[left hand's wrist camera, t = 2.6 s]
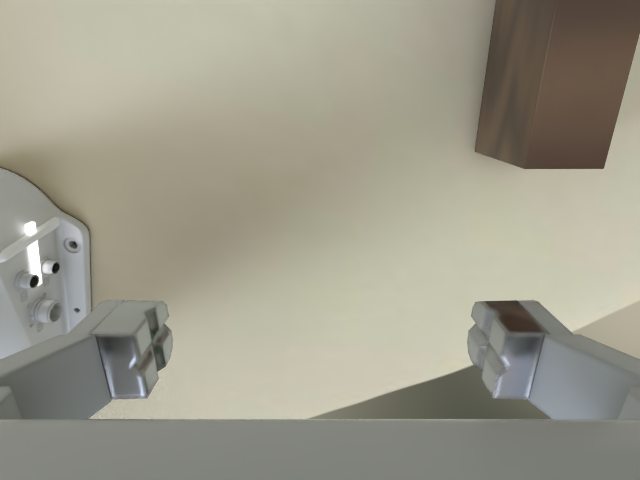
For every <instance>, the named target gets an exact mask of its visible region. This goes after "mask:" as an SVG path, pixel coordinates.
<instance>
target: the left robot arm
mask: <svg viewBox="0 0 640 480" xmlns="http://www.w3.org/2000/svg"><path fill="white" fill-rule="evenodd" d="M73 241H75V242H76V243H77V246H76V245H75V244H74V243H73ZM168 317H169V314H168V309H167V305H166V304H165V303H164V302H163V301H125V300H109V301H102V302H101V303H100V304H99V305H98V306H97V307H96V308H95V309H94V310H92V311H91V278H90V237H89V231H88V229H87V227H86V226H85V225H84V224H83V223H81V222H80V221H79V220H77V219H75V218H74V217H72V216H70V215H68V214H66V213H64V212H62V211H61V210H60V209H58V208H57V207H56V206H55V205H54V204H53V203H52V202H51V201H50V200H49V199H48V198H47V197H46V195H45V194H44V193H42V192H41V191H40V190H39V189H38V188H37V187H36V186H34V185H33V184H32V183H30V182H29V181H27V180H26V179H24V178H22V177H21V176H19V175H17V174H15V173H13V172H11V171H8V170H5V169H3V168H0V480H640V359H638V358H635V357H633V356H630V355H628V354H626V353H623V352H621V351H618V350H616V349H614V348H611V347H609V346H606V345H604V344H601V343H599V342H597V341H594V340H592V339H589V338H587V337H585V336H582V335H574V334H573V333H571V332H570V331H569V330H568V329H567V328H566V327H565V326H564V325H563V324H562V323H561V322H560V321H558V320H557V319H556V318H555V317H554V316H553V315H552V314H551V313H550V312H549V311H548V310H547V309H545V308H544V307H543V306H542V305H541V304H540V303H539V302H538V301H534V300H521V301H479V302H475V304H474V306H473V308H472V314H471V317H472V318H473V320H474V321H475V323H476V324H475V325H474V326H473V327H472V328H471V329H470V330H469V332H468V340H467V344H468V353H469V356H470V359H471V361H472V363H473V365H474V367H476V368H478V369H479V370H481V371H482V372H483V373H482V380H483V382H484V384H485V386H486V387H487V389H488V391H489V392H490V394H491V396H492V397H493V398H499V399H529V402H531V403H532V404H533V405H535V406H536V407H537V408H539V409H540V410H541V411H543V412H544V413H545V414H547V415H548V416H549V417H550V418H552V419H88V418H90V417H91V416H92V415H94V414H95V413H96V412H98V411H99V410H100V409H102V408H103V407H104V406H105V405H107V404H108V403H109V402H111V399H141V398H148V396H149V394H150V393H151V391H152V389H153V387H154V386H155V384H156V382H157V381H158V373H157V372H158V371H159V370H161V369H162V368H164V367H166V365H167V363H168V361H169V359H170V356H171V352H172V343H173V338H172V332H171V330H170V329H169V328H168V327H167V326H166V325H165V324H164V323H165V321H166V320H167V318H168Z"/></svg>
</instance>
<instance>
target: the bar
mask: <svg viewBox="0 0 640 480" xmlns="http://www.w3.org/2000/svg"><path fill="white" fill-rule="evenodd" d="M639 34H640V0H496V6H495V13H494V20H493V27H492V34H491V41H490V48H489V55H488V62H487V69H486V76H485V83H484V90H483V97H482V105H481V112H480V119H479V126H478V133H477V140H476V147H475V152H477V153H480V154H483V155H486V156H489V157H492V158H494V159H497V160H500V161H503V162H506V163H509V164H512V165H515V166H518V167H520V168H523V169H603V168H604V166H605V162H606V158H607V154H608V151H609V147H610V143H611V139H612V136H613V132H614V128H615V124H616V120H617V117H618V113H619V109H620V105H621V102H622V98H623V94H624V90H625V86H626V83H627V79H628V75H629V71H630V68H631V64H632V60H633V56H634V53H635V49H636V45H637V41H638V37H639Z"/></svg>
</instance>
